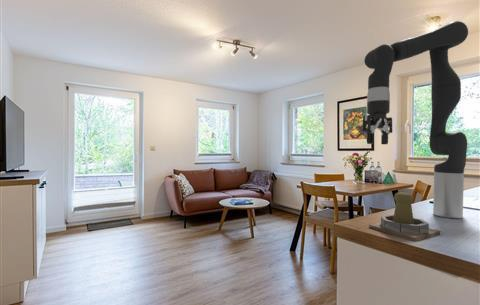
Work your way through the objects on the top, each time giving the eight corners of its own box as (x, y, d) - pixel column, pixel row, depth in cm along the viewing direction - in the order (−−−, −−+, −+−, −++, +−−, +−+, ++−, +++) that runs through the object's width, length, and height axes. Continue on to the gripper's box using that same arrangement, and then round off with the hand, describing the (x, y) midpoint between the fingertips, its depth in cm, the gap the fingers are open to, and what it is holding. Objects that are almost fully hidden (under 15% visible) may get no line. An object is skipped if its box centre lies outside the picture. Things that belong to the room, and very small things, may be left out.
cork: (418, 230, 79) (418, 194, 79) (396, 229, 80) (396, 193, 80) (409, 225, 85) (410, 191, 85) (389, 223, 86) (390, 190, 86)
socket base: (394, 222, 92) (394, 212, 92) (440, 234, 79) (440, 222, 79) (369, 227, 85) (369, 217, 85) (414, 241, 73) (414, 228, 73)
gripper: (375, 97, 91) (374, 143, 91) (399, 101, 97) (398, 144, 98) (356, 100, 97) (356, 143, 98) (380, 104, 104) (380, 144, 104)
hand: (377, 144), depth 98 cm, fingers open, 8 cm apart
